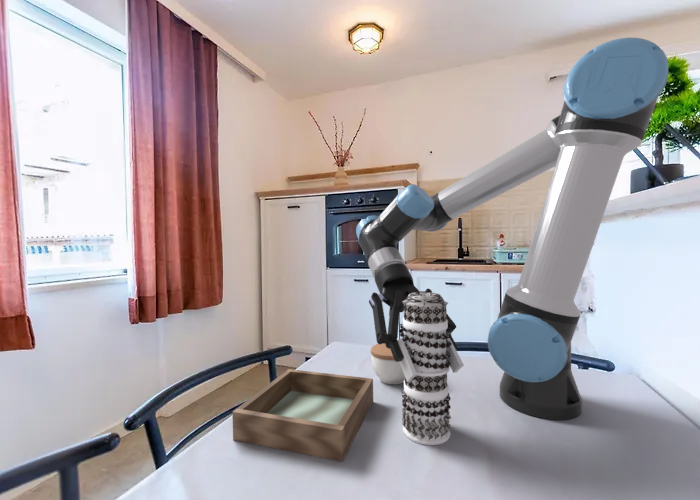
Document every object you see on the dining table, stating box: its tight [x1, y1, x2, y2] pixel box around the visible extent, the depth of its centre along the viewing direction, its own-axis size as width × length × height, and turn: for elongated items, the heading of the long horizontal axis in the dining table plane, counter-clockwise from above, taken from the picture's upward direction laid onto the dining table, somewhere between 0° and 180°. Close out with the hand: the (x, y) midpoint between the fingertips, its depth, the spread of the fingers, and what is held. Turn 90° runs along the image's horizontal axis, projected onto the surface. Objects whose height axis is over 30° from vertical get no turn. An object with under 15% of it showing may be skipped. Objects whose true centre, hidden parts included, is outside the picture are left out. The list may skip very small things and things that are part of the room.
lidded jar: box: [370, 343, 405, 385], centre depth 83 cm, size 11×11×9 cm
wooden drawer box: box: [232, 368, 374, 462], centre depth 64 cm, size 20×20×5 cm
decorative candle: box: [398, 291, 452, 446], centre depth 59 cm, size 9×9×25 cm
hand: (435, 373), depth 56 cm, fingers closed on decorative candle, 9 cm apart
